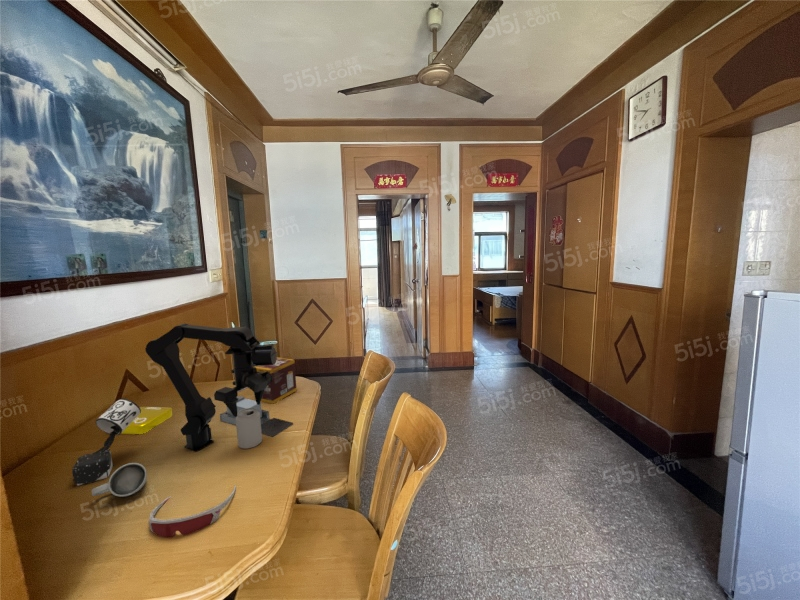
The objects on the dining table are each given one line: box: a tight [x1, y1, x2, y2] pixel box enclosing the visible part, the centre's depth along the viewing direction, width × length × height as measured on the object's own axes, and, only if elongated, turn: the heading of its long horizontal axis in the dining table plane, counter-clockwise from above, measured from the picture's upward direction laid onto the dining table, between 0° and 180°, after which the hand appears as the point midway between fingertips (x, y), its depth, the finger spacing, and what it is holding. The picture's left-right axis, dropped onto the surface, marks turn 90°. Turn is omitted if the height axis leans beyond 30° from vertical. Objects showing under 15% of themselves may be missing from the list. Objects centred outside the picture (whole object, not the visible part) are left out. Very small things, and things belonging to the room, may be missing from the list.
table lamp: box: [71, 398, 141, 487], centre depth 98 cm, size 25×10×10 cm
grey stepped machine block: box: [226, 395, 263, 418], centre depth 127 cm, size 6×12×7 cm, turn 65°
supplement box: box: [254, 356, 297, 405], centre depth 149 cm, size 10×15×16 cm
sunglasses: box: [148, 484, 237, 538], centre depth 81 cm, size 17×17×5 cm
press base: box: [219, 409, 294, 438], centre depth 125 cm, size 10×28×3 cm, turn 65°
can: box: [235, 408, 263, 450], centre depth 110 cm, size 8×8×12 cm
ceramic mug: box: [91, 462, 148, 498], centre depth 87 cm, size 11×8×8 cm
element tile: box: [120, 406, 173, 435], centre depth 126 cm, size 15×15×5 cm
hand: (247, 410), depth 110 cm, fingers open, 9 cm apart
